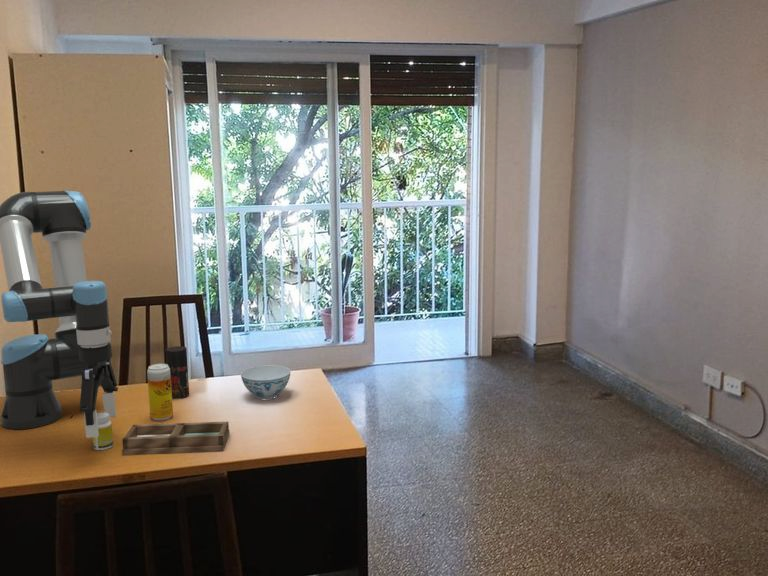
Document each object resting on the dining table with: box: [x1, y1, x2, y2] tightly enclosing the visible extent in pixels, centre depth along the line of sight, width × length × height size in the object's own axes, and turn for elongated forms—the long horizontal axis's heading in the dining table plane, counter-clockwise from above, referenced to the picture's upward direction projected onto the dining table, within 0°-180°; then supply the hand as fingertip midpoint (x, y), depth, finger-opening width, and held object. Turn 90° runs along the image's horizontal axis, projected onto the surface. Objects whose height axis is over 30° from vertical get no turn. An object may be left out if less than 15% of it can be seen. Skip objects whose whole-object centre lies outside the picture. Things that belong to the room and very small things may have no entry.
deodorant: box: [165, 345, 190, 400], centre depth 205 cm, size 6×6×15 cm
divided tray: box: [121, 421, 230, 456], centre depth 170 cm, size 24×11×4 cm, turn 95°
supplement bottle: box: [91, 412, 114, 451], centre depth 169 cm, size 5×5×8 cm
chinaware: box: [240, 364, 291, 400], centre depth 205 cm, size 15×15×8 cm
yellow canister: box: [146, 363, 174, 422], centre depth 187 cm, size 6×6×15 cm
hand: (101, 426), depth 168 cm, fingers open, 13 cm apart
